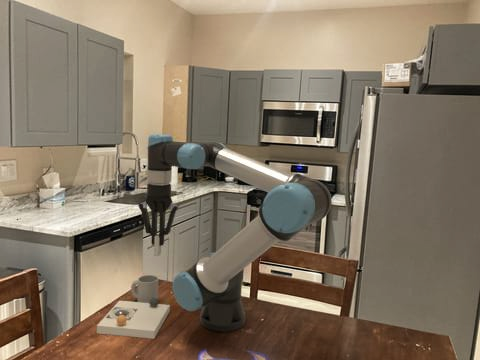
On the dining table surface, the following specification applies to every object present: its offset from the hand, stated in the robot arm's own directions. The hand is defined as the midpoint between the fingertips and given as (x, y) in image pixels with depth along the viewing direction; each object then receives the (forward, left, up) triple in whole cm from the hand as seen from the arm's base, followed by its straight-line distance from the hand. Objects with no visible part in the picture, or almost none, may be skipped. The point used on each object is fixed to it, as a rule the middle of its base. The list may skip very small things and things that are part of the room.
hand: (157, 254), depth 132 cm
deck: (+6, +3, -22) cm, 23 cm away
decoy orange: (+8, +10, -18) cm, 22 cm away
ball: (+11, +3, -21) cm, 24 cm away
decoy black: (+2, -4, -18) cm, 19 cm away
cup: (+8, -12, -23) cm, 27 cm away
